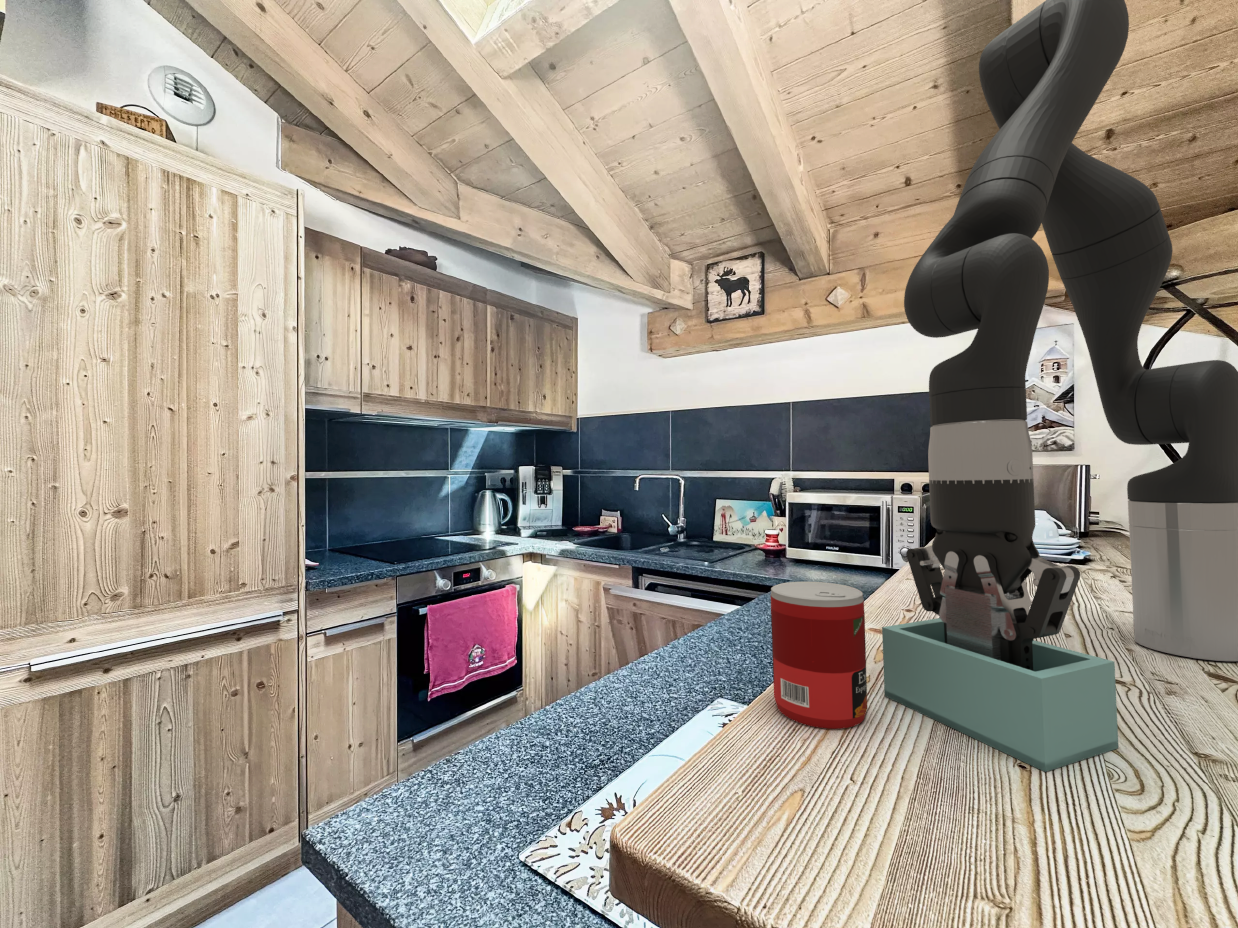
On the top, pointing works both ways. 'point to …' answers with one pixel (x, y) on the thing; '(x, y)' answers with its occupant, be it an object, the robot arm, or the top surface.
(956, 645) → the grey upright brick
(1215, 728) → the top surface
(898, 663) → the box
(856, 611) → the canned food
